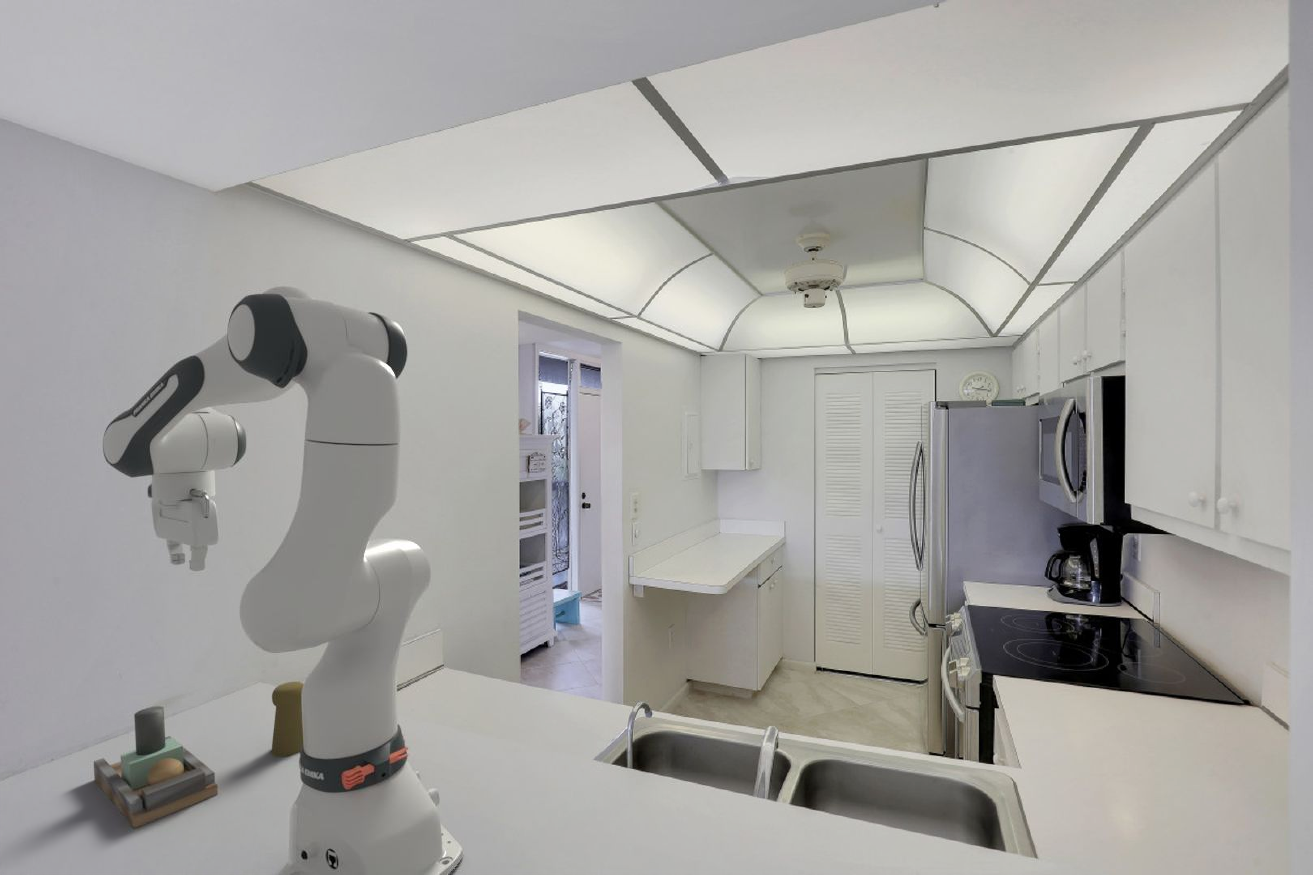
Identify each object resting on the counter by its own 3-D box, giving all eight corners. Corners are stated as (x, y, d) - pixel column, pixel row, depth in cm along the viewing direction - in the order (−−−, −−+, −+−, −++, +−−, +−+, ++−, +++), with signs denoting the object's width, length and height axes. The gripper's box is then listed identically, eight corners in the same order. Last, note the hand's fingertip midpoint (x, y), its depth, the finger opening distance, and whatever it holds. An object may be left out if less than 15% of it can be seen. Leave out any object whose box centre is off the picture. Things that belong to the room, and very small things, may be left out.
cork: (293, 757, 106) (290, 692, 106) (262, 754, 108) (259, 690, 108) (319, 739, 112) (316, 678, 112) (289, 737, 114) (287, 676, 113)
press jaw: (183, 770, 100) (181, 708, 100) (131, 790, 95) (127, 724, 95) (173, 761, 103) (170, 700, 103) (121, 780, 98) (118, 716, 98)
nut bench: (217, 793, 96) (216, 767, 96) (134, 828, 88) (133, 799, 88) (170, 753, 109) (169, 730, 109) (94, 779, 101) (93, 754, 101)
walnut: (188, 786, 96) (187, 757, 96) (152, 800, 92) (151, 770, 92) (179, 777, 98) (177, 749, 98) (143, 791, 95) (142, 762, 95)
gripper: (228, 489, 107) (231, 570, 107) (185, 484, 119) (188, 557, 120) (184, 492, 102) (187, 578, 102) (143, 487, 114) (146, 563, 114)
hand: (187, 567), depth 111 cm, fingers open, 8 cm apart
